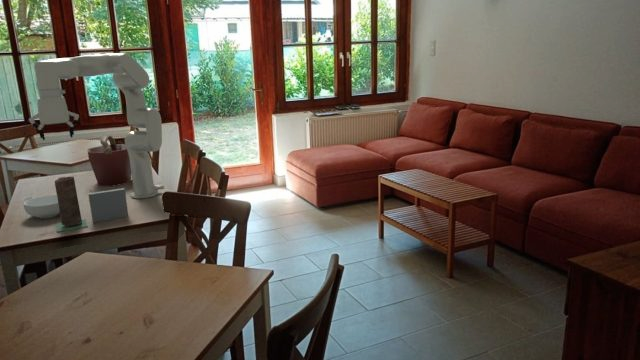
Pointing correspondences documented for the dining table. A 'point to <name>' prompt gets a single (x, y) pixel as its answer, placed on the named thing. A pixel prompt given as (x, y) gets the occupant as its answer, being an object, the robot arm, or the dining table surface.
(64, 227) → the mat
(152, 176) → the robot arm
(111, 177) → the bucket
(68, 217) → the brown textured block
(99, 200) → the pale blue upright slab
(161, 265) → the dining table surface
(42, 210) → the cereal bowl
